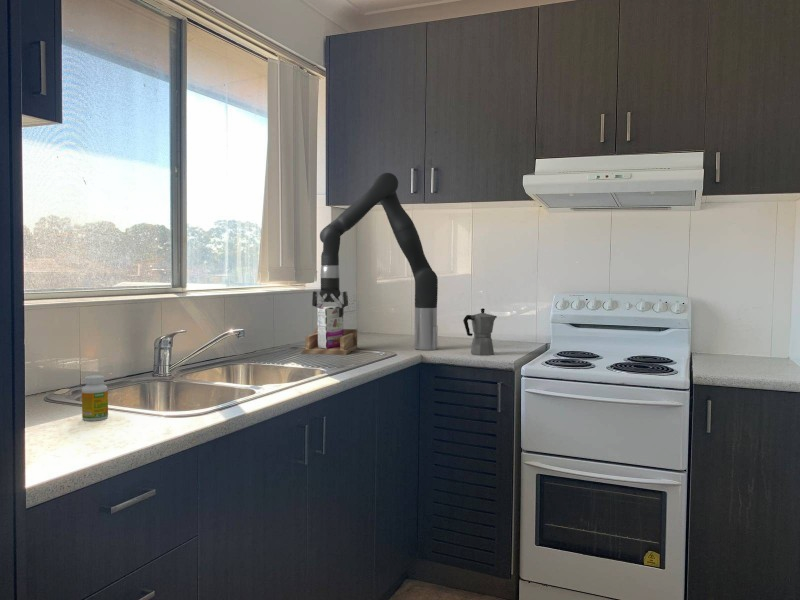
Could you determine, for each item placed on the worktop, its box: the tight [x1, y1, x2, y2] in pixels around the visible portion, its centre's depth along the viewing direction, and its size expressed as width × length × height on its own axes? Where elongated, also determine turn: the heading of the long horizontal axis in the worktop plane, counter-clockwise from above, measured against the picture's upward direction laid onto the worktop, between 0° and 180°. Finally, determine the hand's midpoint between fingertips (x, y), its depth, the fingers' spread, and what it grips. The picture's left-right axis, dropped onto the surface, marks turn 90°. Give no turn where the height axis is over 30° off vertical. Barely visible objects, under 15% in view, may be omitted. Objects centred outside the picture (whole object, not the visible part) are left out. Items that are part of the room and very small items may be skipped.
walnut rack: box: [301, 327, 358, 356], centre depth 270 cm, size 18×19×8 cm
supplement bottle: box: [81, 374, 109, 422], centre depth 153 cm, size 5×5×10 cm
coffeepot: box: [462, 307, 498, 356], centre depth 263 cm, size 15×9×18 cm, turn 117°
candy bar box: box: [316, 305, 344, 349], centre depth 270 cm, size 11×5×16 cm, turn 147°
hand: (330, 317), depth 270 cm, fingers open, 8 cm apart
